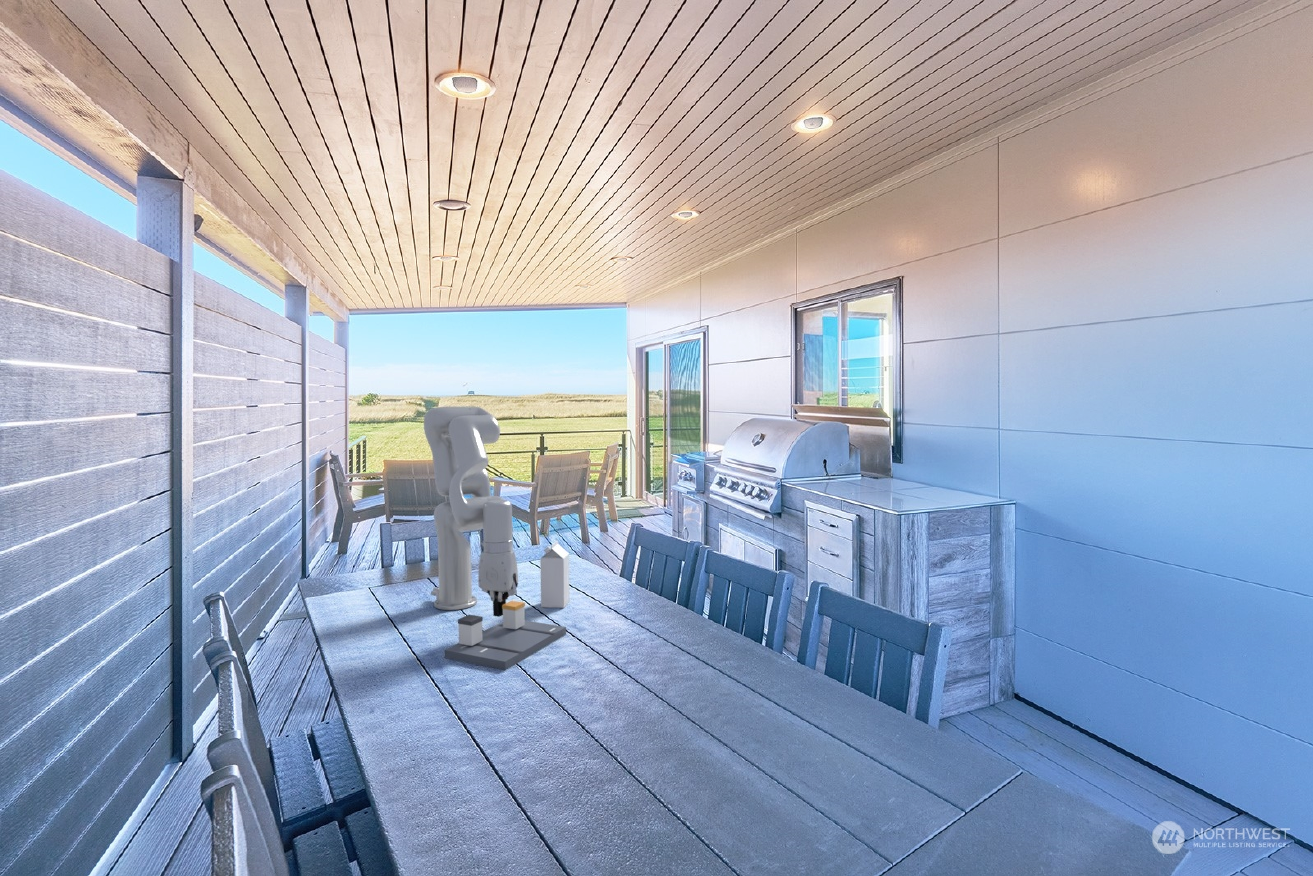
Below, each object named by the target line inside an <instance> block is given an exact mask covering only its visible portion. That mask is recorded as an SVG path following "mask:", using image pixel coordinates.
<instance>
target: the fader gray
mask: <svg viewBox="0 0 1313 876" xmlns="http://www.w3.org/2000/svg"><path fill="white" fill-rule="evenodd" d="M483 619H484V618H483V616H481V615H475V614H468V615H465V616H462V617H461V618H458V619H457V624H458V643H459V644H464V645H470V646H473V645H475V644H477V643H479V642H481V641H483V640H482V632H483V621H484V620H483Z"/></svg>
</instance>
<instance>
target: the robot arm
mask: <svg viewBox="0 0 1313 876" xmlns="http://www.w3.org/2000/svg"><path fill="white" fill-rule="evenodd" d="M423 430H424V434H425V438H426V440H427V443H428V446H429V447H430V450H431V455H432V463H433V472H434V481H435V487H436V491H437V493H438V495H440V496H441V497H448V498H449V500H448V501H444V502H441V503H439V504H438V505H437V506H436V507H435V509H434V511H433V520H434V526H435V531H436V537H437V538H436V539H437V557H438V558H437V559H438V560H437V561H438V587H436V586H435V587H433V589H432V590H431V591H430V595H431V596H436V599H435V601H433V606H434V608H436V609H439V610H443V611H455V610H464V609H468V608H470V607H473V606H475V605H476V604H477V603H478V598H477V596H475V595H472V594H473V591H472V589H473V588H472V549H471V544H470V542H469V540H468V539H467V538H466V537H465V536H464V535H463V533H464V532H469V531H477V530H483V532H482V533H483V540H482V541H481V543H480V545H481V546H482V547H483V551H481V552H480V555H479V556H480V557H479V563H478V574H477V575H478V576H477V577H478V581H477V582H478V583H477V584H478V588H480V589H481V591H482V592H484V593H485V594H488V596H489V597H490V600H491V601H492V610H493V611H492V612H493V614H492V615H493V617H499V618H500V617H503V609H502V605H503V604H505V603H507V600H508V599H509V598H510V597H511V596H515V595H517V594H518V591H517V588H518V586H519V573H518V572H519V571H518V564H517V557H516V554H515V551H514V546H513V545H514V540H513V505H512V502H510V501H509V500H507V499H503V498H502V497H501V496H498V495H492V491H491V490H492V488H491V482H490V476H489V472H488V471H487V469H486V468H487V467H488V465H489V458H488V454H487V451H486V448H485V445H486V444H496V443H497V442H498V441H499V438H500V436H501V435H500V434H501V429H500V425H499V422H498V420H497V419H496V417H494V415H493V414H492V413H490V412H488V411H487V410H485V409H483V407H478V406H437V407H434V408H433V407H432V408H431V409H429V410H427V411H426V412H425V415H424V417H423ZM465 496H471V497H467V498H466V497H465Z"/></svg>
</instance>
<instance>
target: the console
mask: <svg viewBox="0 0 1313 876" xmlns="http://www.w3.org/2000/svg"><path fill="white" fill-rule="evenodd" d="M566 635H567V627H566V626H563V625H557V624H556V625H555V624H549V623H543V622H537V621H531V620H525V625H523V626H521V627H520V628H518V629H510V628H504V627H503V621H501V622H499V623H498V624H495V625H493V626H491V627H489V628H487V629H485V630H482V640H483V641H481V642H479V643H477V644H475V645H473V646H470V645H464V644H459V642H458V643H456V644H454V645H452V646H449V647H448V648H445V649H444V650H443V651H444V659H446V660H447V659H448V660H453V661H458V662H463V663H467V664H473V665H477V666H478V665H479V666H483V667H487V668H492V669H498V670H504V671H507V670H509V669H510V668H512V667H513V666H515V665H517V664H518V663H520V662H522V661H524V660H525V659H527V658H529V657H530V656H532V655H534V654H536V653H537V652H539V651H541V650H542V649H544V648H546V647H547V646H549V645H551V644H553V643H554V642H555V641H557V640H559V639H561V638H562V637H564V636H566Z"/></svg>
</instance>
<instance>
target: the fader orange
mask: <svg viewBox="0 0 1313 876" xmlns="http://www.w3.org/2000/svg"><path fill="white" fill-rule="evenodd" d="M525 606H526V603H525V602H524V601H517V600H510V601H508V602H506V603H505V604H503V605H502V609H503V615H502V622H503V627H504V628H510V629H518V628H520V627H521V626H523V625H525V621H526V620H525Z"/></svg>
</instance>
